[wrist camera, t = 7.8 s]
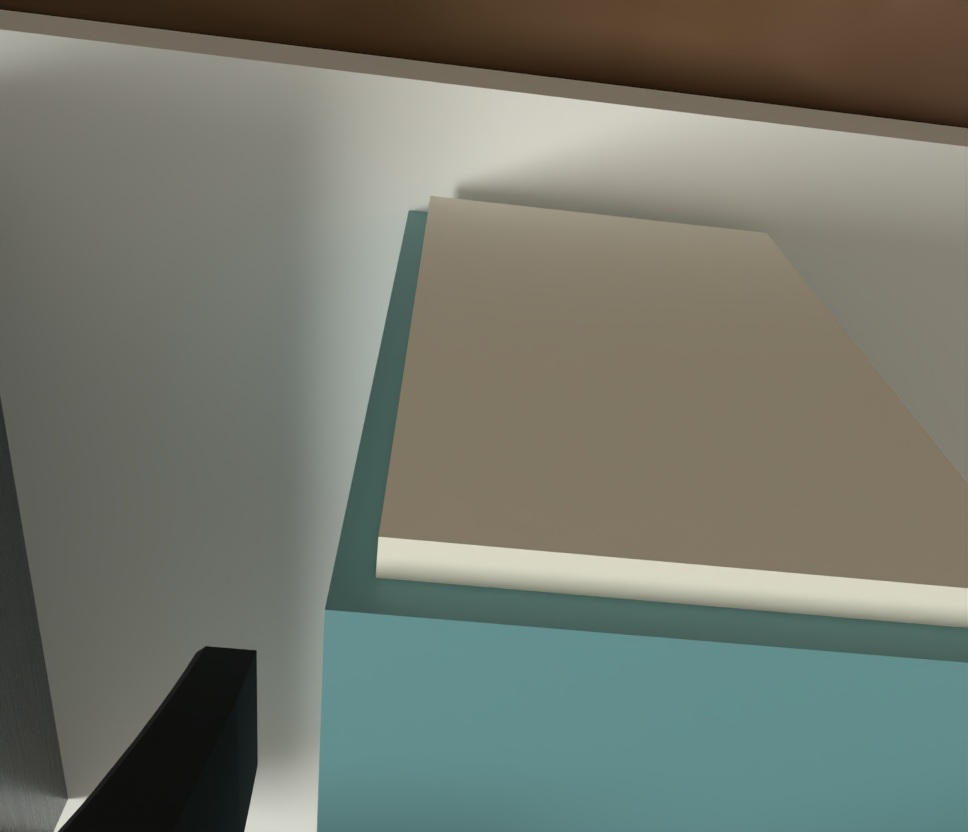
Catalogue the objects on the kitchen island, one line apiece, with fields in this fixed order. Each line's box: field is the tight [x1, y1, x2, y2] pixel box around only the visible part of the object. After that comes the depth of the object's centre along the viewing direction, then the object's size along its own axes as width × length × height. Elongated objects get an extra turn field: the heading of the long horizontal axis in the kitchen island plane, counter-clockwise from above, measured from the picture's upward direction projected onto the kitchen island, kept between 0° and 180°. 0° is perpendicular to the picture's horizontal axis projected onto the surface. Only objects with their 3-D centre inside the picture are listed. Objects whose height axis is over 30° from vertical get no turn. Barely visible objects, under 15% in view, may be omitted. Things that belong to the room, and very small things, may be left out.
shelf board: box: [0, 10, 968, 832], centre depth 15 cm, size 18×14×1 cm
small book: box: [317, 196, 968, 832], centre depth 11 cm, size 4×10×7 cm, turn 174°
